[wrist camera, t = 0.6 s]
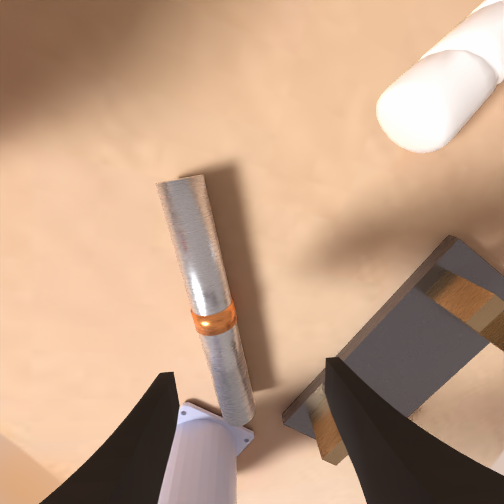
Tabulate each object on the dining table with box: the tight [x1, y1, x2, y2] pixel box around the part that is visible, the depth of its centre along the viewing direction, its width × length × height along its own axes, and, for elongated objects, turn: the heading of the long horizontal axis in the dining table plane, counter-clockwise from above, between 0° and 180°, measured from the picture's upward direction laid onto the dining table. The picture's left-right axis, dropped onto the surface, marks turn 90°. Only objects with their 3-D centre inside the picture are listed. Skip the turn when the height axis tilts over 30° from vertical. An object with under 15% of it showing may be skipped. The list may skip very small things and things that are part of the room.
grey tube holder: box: [282, 235, 504, 465], centre depth 22 cm, size 22×10×5 cm, turn 145°
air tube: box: [156, 174, 256, 427], centre depth 20 cm, size 20×3×3 cm, turn 10°
